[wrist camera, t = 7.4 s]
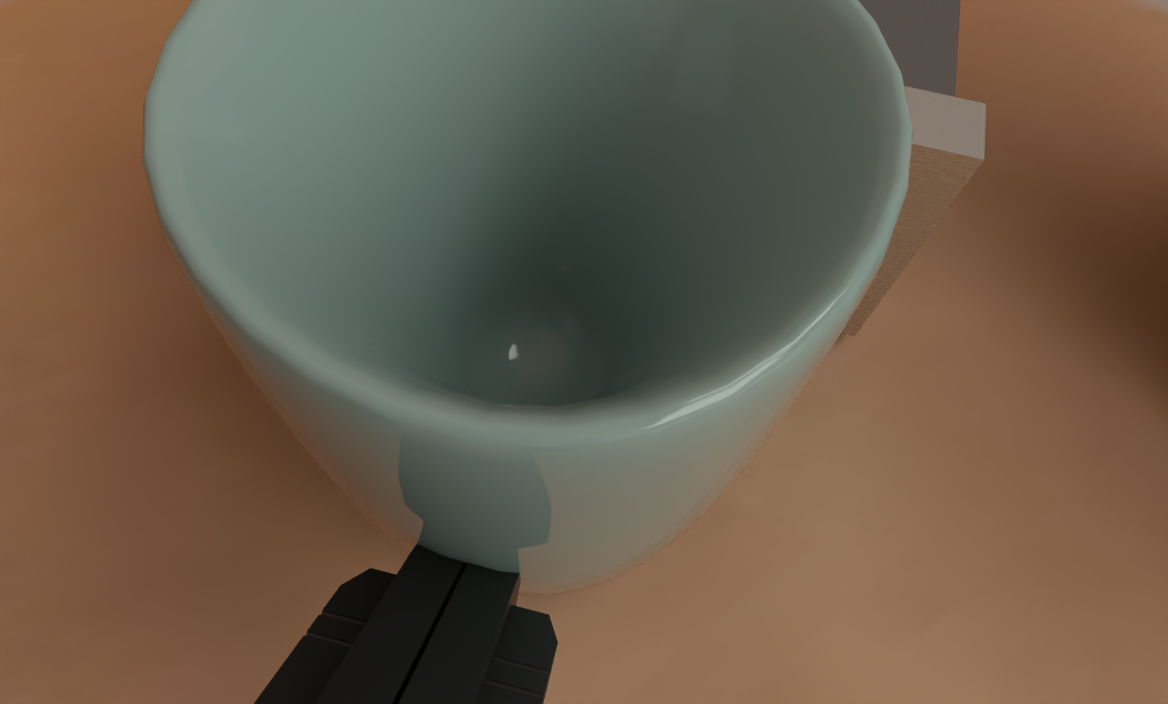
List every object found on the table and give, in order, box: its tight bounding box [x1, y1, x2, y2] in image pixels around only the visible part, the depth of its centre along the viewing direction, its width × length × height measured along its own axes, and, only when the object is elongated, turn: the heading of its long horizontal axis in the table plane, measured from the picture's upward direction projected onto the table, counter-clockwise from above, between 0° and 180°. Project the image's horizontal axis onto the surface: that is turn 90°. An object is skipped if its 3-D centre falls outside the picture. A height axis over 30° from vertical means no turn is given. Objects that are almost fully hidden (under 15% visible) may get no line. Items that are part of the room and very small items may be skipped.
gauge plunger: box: [842, 86, 986, 336], centre depth 18 cm, size 12×7×6 cm, turn 76°
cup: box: [142, 0, 913, 595], centre depth 13 cm, size 8×8×10 cm
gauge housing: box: [858, 0, 960, 97], centre depth 19 cm, size 12×6×5 cm, turn 76°
